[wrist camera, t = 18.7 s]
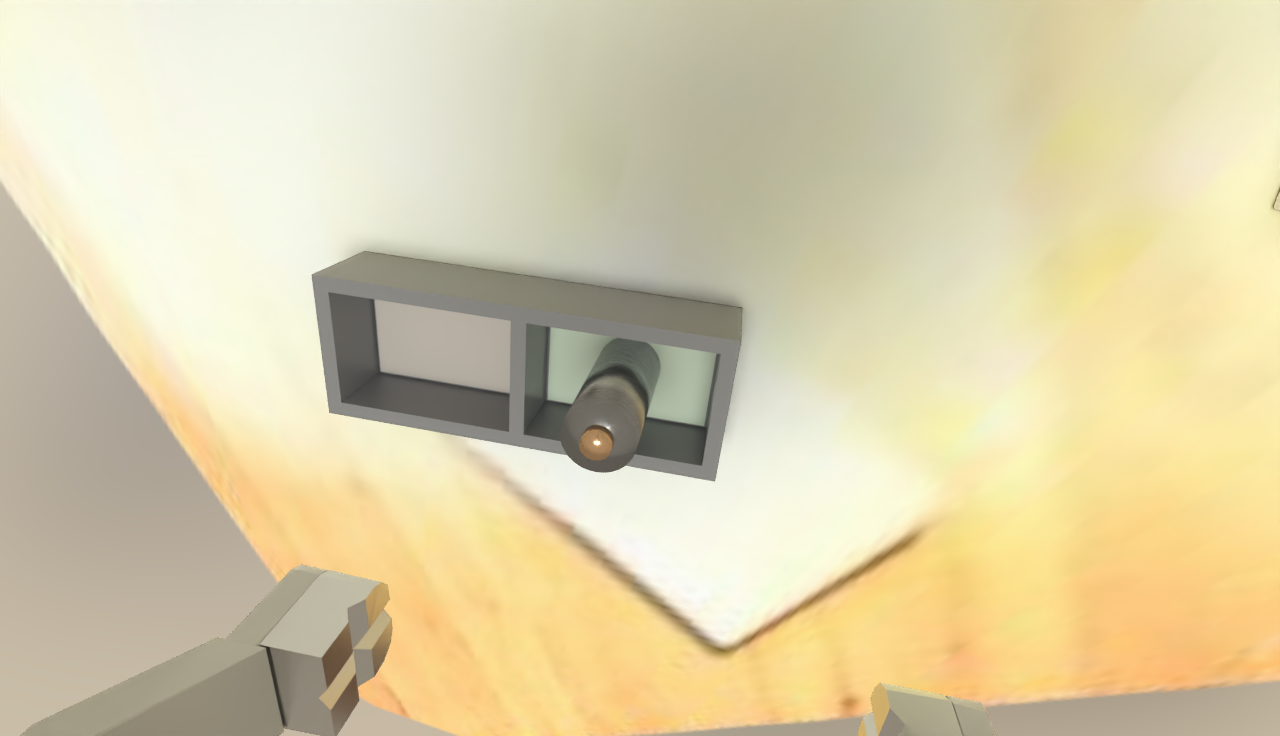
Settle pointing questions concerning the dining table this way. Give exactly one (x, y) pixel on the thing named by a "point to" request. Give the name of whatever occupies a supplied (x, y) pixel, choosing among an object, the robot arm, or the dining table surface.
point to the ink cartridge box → (1277, 203)
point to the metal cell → (611, 406)
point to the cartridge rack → (517, 355)
